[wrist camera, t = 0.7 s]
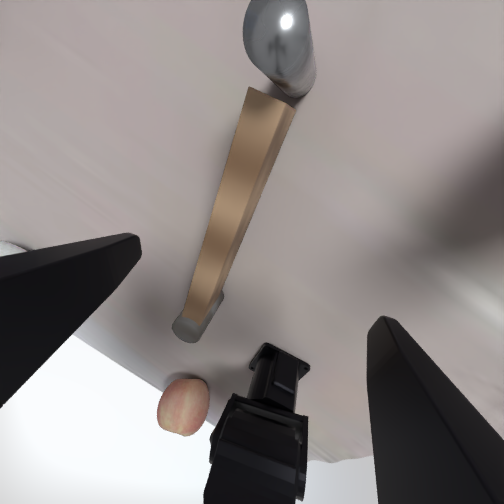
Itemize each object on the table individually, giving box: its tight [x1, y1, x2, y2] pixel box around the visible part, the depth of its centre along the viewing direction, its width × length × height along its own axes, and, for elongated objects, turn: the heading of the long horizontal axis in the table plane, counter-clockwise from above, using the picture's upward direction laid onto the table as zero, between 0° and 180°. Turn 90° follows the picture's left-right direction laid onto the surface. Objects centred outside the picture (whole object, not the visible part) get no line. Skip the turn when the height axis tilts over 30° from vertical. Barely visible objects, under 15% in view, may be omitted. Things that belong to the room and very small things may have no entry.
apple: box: [157, 379, 210, 436], centre depth 35 cm, size 8×8×8 cm
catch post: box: [243, 0, 316, 98], centre depth 11 cm, size 2×2×8 cm
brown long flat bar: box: [172, 86, 296, 343], centre depth 18 cm, size 22×3×6 cm, turn 159°
